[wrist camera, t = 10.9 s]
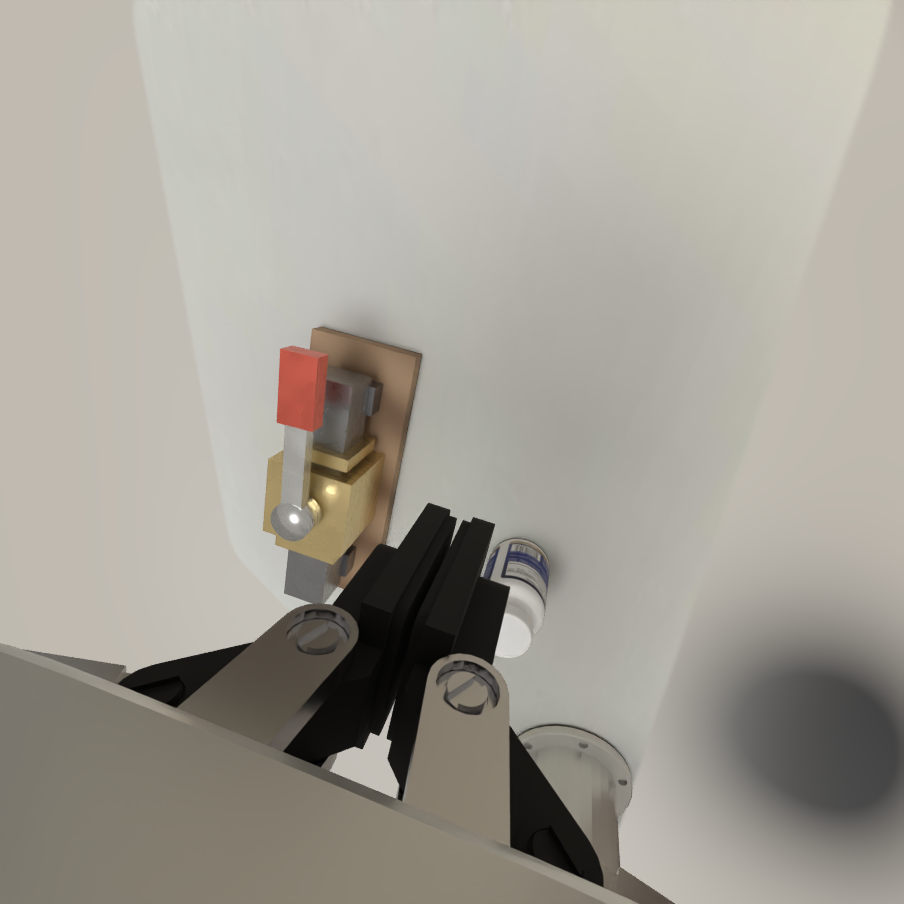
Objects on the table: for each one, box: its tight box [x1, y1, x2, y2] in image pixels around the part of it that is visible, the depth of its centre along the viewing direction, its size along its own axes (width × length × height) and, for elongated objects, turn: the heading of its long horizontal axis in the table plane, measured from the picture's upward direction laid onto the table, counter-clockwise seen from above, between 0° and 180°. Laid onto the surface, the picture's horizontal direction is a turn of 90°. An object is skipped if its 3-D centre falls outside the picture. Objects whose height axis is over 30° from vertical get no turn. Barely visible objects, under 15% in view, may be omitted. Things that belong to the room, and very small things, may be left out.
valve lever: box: [270, 346, 328, 541], centre depth 35 cm, size 14×3×2 cm, turn 169°
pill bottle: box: [483, 539, 549, 658], centre depth 41 cm, size 5×5×10 cm
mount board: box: [310, 327, 422, 589], centre depth 45 cm, size 24×9×2 cm, turn 167°
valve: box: [263, 365, 385, 604], centre depth 42 cm, size 20×7×7 cm, turn 167°
